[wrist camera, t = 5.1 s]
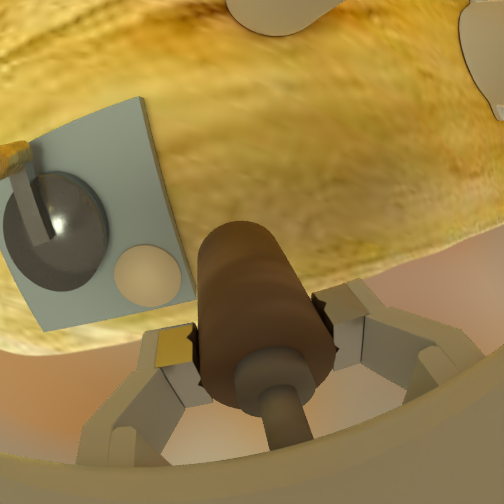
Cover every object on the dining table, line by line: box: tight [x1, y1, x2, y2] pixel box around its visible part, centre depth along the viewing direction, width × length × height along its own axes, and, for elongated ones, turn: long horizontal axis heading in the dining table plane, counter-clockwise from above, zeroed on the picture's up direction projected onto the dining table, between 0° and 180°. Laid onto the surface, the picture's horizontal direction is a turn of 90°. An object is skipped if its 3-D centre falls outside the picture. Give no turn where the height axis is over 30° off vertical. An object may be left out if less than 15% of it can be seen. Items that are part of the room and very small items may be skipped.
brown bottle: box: [198, 221, 336, 451], centre depth 8 cm, size 3×3×9 cm
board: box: [0, 96, 197, 332], centre depth 23 cm, size 18×18×2 cm
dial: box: [0, 141, 109, 292], centre depth 17 cm, size 10×13×8 cm
